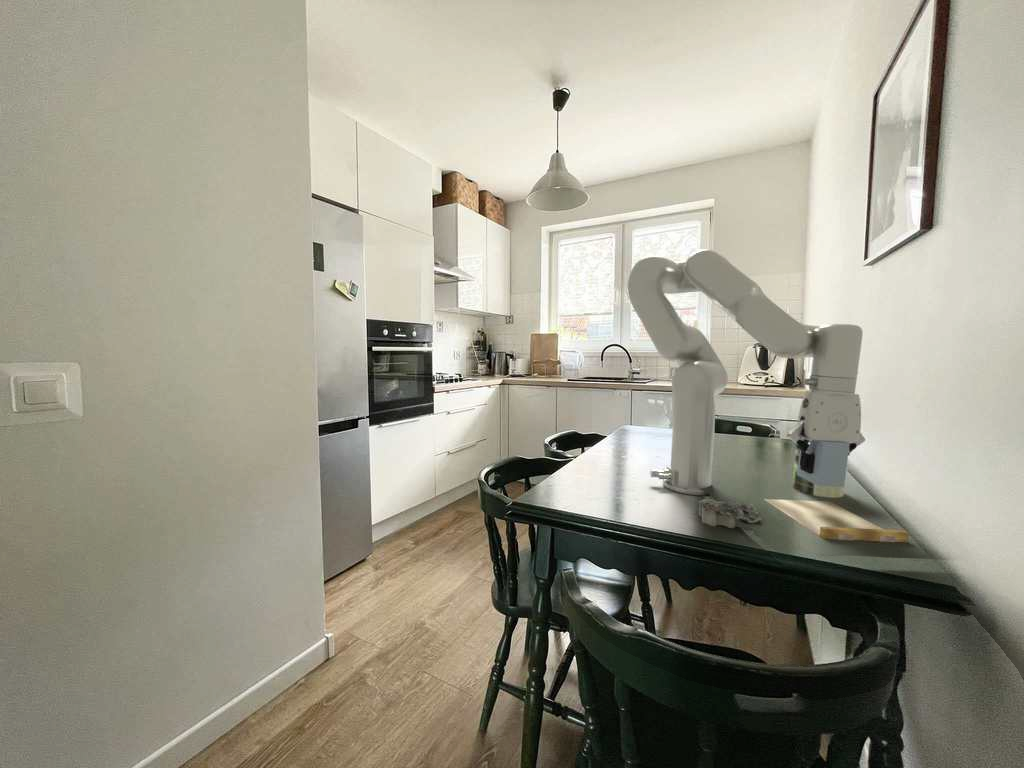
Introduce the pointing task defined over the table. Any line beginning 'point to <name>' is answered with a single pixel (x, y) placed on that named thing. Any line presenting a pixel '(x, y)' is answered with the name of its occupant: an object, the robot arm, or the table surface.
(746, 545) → the table surface
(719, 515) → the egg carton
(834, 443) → the carton
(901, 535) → the shelf
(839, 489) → the coffee can
